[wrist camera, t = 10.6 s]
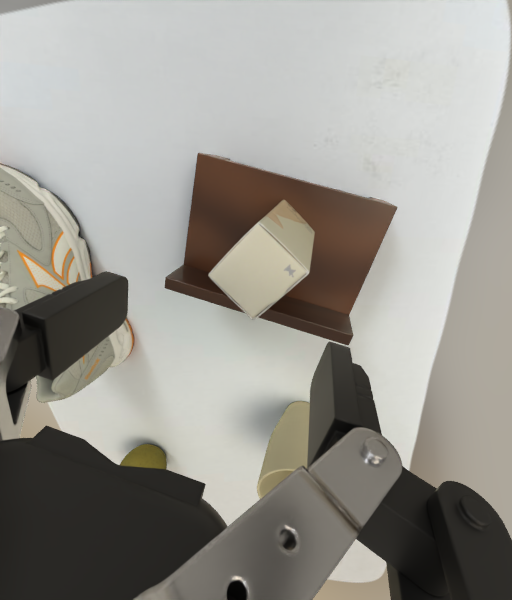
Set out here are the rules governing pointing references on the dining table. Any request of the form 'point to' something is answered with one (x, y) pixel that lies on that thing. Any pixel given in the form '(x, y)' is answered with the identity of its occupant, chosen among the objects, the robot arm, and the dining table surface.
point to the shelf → (326, 247)
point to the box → (266, 261)
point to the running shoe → (48, 271)
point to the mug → (286, 447)
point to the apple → (145, 457)
